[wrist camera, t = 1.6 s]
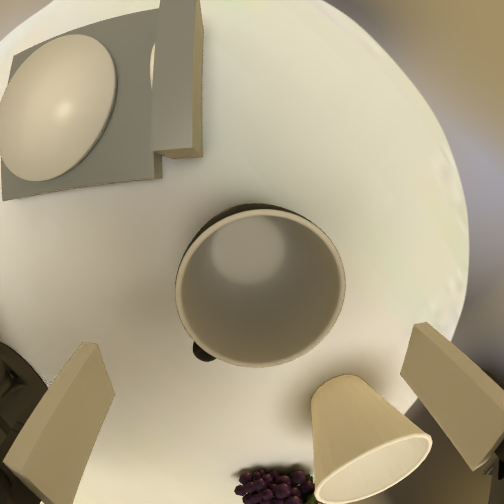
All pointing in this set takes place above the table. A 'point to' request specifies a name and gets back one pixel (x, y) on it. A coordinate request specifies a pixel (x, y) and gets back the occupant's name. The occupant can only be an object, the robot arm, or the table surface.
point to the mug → (259, 286)
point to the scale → (104, 102)
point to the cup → (360, 442)
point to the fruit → (277, 488)
